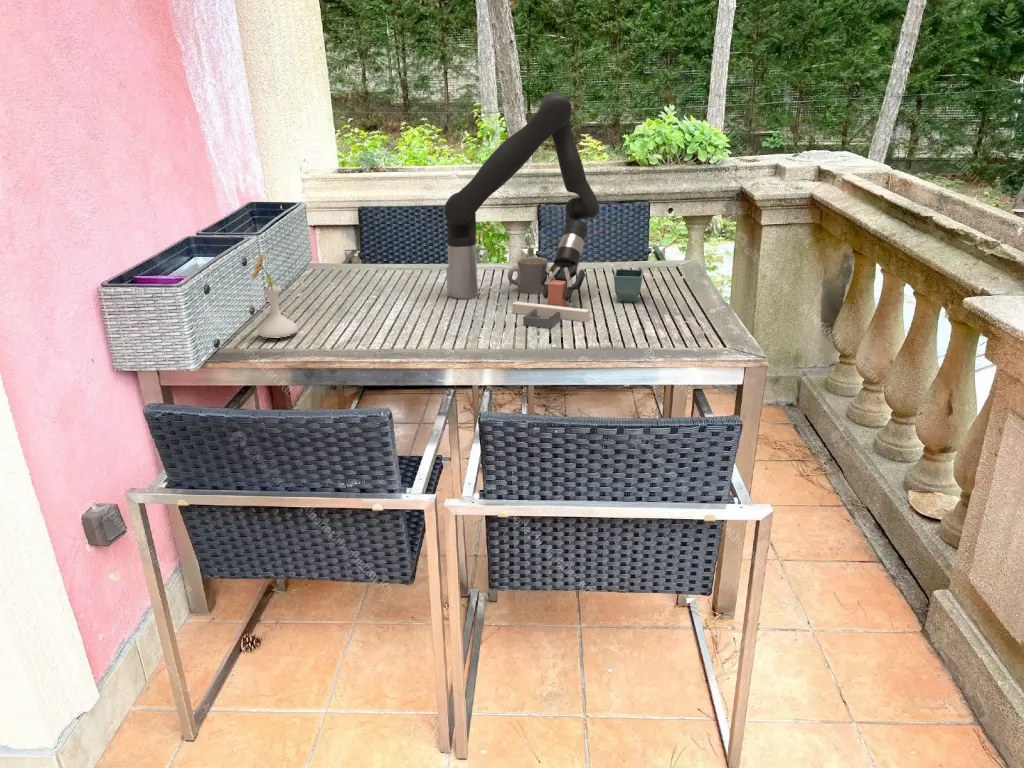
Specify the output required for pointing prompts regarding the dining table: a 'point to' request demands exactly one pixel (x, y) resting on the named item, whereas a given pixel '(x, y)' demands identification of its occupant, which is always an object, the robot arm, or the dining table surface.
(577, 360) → the dining table surface
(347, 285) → the dining table surface
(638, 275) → the flower pot
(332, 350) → the dining table surface
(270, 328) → the flower in vase
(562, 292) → the block
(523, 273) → the coffee mug
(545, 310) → the strip
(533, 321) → the keeper bracket
